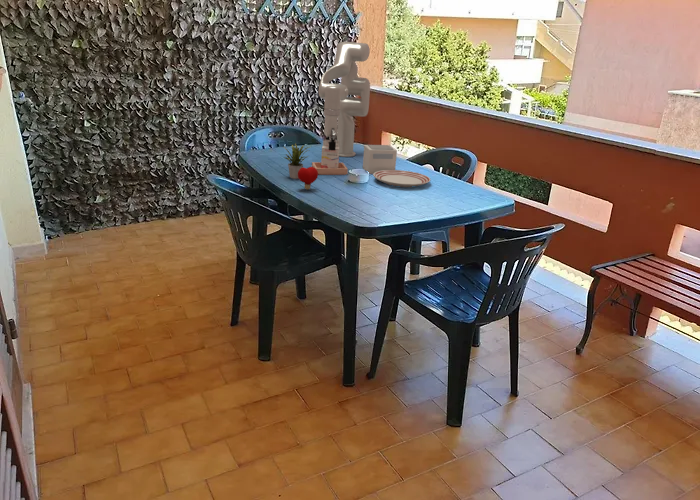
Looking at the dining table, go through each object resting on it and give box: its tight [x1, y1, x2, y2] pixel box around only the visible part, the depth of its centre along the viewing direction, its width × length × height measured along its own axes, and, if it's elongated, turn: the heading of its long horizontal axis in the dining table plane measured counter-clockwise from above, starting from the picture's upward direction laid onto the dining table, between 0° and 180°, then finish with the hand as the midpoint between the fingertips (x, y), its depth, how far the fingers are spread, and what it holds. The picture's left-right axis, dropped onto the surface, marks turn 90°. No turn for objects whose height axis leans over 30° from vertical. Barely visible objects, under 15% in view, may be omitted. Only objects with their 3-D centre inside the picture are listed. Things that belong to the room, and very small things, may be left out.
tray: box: [311, 161, 349, 176], centre depth 267 cm, size 13×16×3 cm
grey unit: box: [362, 144, 398, 175], centre depth 273 cm, size 13×14×12 cm
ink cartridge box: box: [320, 139, 340, 168], centre depth 265 cm, size 9×5×15 cm, turn 88°
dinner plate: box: [372, 169, 431, 188], centre depth 257 cm, size 27×27×3 cm
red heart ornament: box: [298, 166, 319, 191], centre depth 234 cm, size 9×7×10 cm
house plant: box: [281, 142, 311, 180], centre depth 251 cm, size 14×14×16 cm
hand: (330, 147), depth 264 cm, fingers open, 9 cm apart
